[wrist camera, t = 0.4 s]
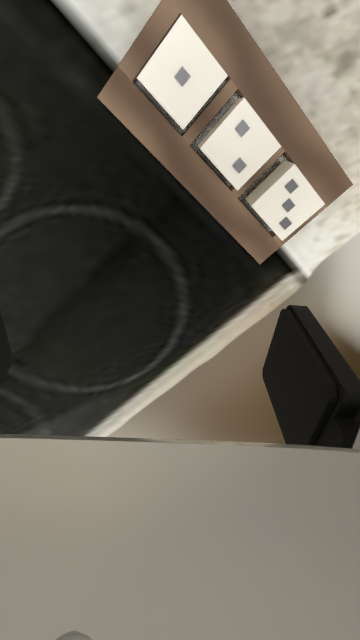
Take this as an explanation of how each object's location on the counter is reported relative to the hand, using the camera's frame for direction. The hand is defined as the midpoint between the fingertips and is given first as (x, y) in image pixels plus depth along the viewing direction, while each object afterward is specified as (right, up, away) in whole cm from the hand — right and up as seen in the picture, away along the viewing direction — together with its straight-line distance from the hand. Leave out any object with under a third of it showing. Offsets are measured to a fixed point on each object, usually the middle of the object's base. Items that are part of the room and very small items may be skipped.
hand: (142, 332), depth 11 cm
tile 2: (+6, +17, +19) cm, 26 cm away
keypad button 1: (+1, +21, +16) cm, 27 cm away
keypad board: (+6, +18, +20) cm, 28 cm away
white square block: (+11, +13, +22) cm, 28 cm away
